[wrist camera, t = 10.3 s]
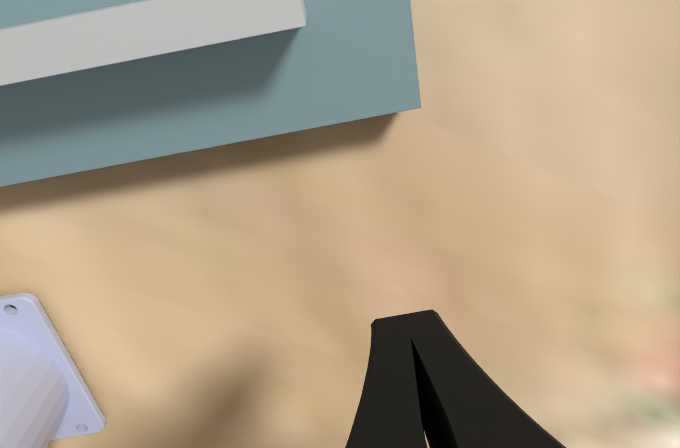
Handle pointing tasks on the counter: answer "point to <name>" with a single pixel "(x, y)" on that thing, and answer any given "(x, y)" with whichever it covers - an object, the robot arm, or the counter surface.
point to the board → (189, 75)
